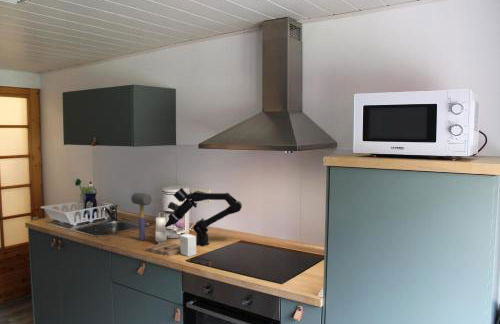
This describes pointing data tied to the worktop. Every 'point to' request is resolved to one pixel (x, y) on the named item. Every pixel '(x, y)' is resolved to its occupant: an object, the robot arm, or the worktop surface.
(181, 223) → the cupcake
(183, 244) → the small box
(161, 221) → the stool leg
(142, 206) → the rubber mallet
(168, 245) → the socket board
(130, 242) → the worktop surface
